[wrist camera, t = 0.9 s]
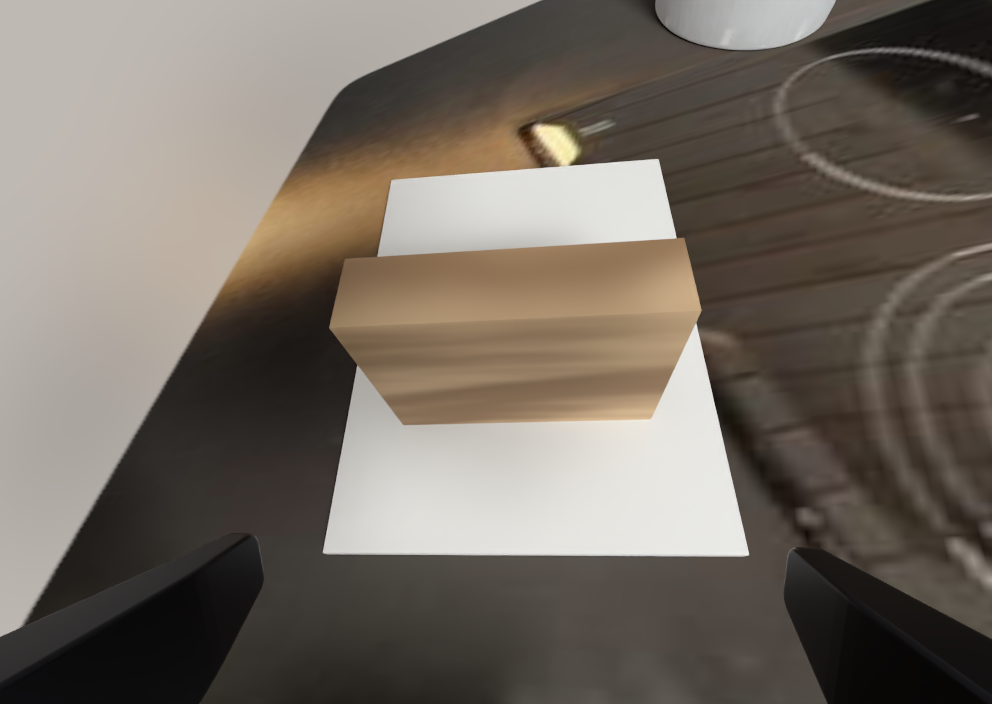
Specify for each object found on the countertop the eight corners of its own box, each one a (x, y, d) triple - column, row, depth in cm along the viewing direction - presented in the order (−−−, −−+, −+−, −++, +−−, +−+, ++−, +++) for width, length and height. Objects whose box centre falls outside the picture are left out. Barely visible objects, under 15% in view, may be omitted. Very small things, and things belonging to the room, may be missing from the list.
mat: (745, 556, 20) (749, 554, 19) (327, 554, 21) (322, 553, 21) (657, 165, 31) (658, 158, 31) (393, 185, 33) (391, 179, 33)
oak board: (651, 419, 22) (701, 310, 15) (403, 425, 24) (329, 327, 16) (642, 363, 24) (684, 237, 16) (409, 371, 25) (344, 258, 17)
